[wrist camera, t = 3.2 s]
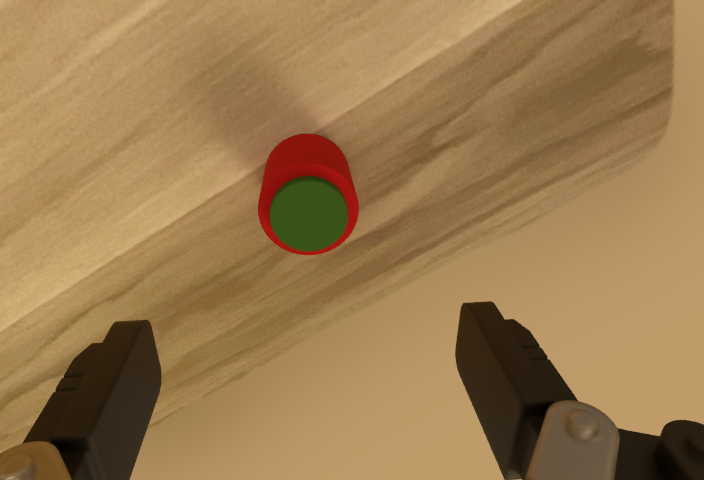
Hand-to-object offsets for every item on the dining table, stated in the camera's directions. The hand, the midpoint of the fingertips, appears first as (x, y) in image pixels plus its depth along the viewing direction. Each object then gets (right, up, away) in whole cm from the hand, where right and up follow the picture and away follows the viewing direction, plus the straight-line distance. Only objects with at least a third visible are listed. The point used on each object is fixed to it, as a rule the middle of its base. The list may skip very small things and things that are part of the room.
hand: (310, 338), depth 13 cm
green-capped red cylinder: (-1, +6, +12) cm, 13 cm away
